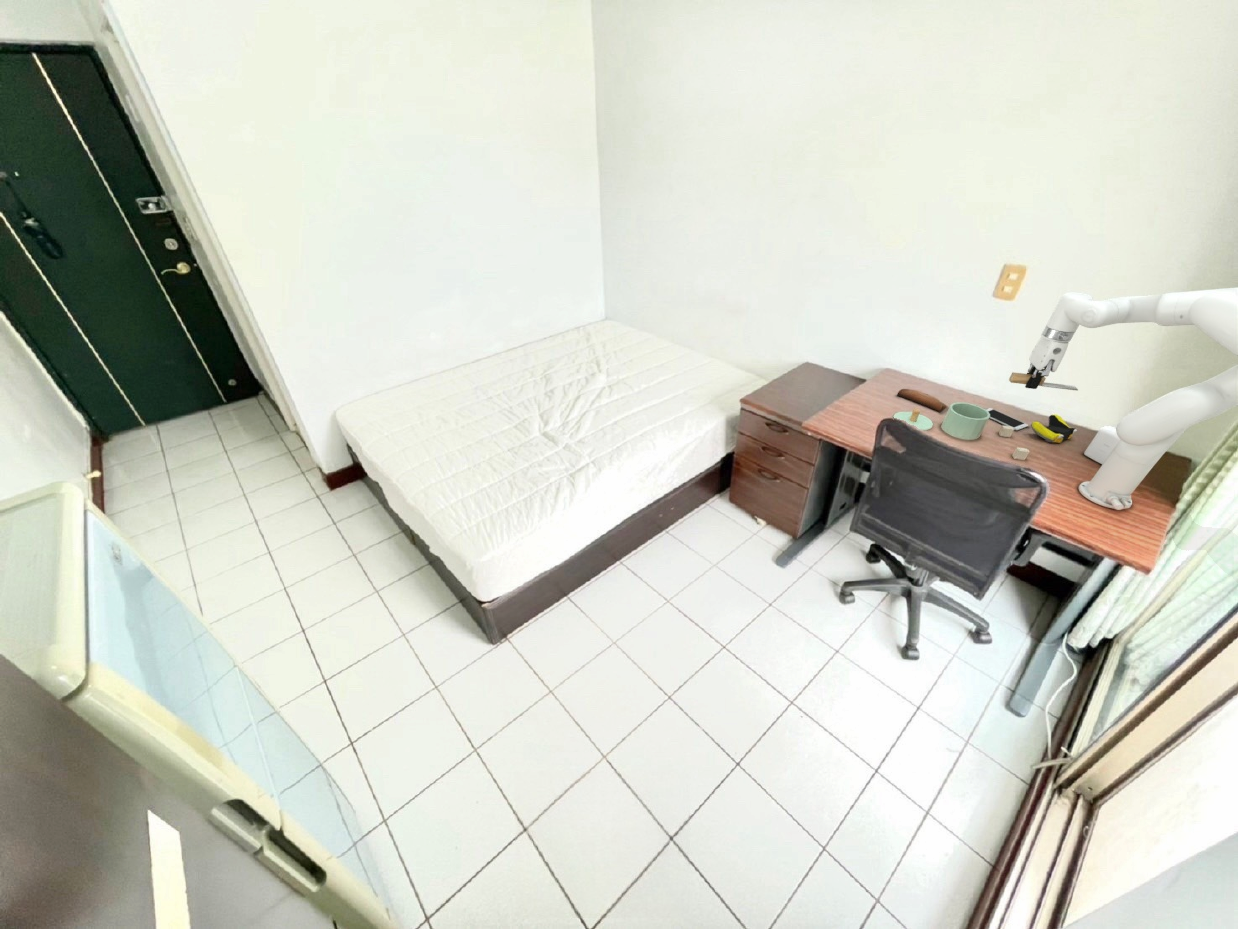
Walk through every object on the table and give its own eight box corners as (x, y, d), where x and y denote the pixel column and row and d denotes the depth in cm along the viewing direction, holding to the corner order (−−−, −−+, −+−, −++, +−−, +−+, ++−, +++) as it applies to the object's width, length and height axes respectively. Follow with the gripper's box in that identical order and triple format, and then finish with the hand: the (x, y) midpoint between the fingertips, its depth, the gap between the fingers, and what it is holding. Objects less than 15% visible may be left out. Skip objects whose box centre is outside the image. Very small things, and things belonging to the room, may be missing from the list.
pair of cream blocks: (1024, 460, 167) (1029, 451, 164) (1013, 458, 167) (1018, 450, 165) (1008, 434, 180) (1012, 426, 178) (998, 433, 180) (1002, 425, 178)
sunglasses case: (950, 406, 196) (951, 396, 191) (939, 418, 195) (940, 409, 190) (906, 390, 208) (907, 380, 203) (896, 401, 207) (896, 392, 202)
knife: (1077, 390, 158) (1082, 382, 157) (1010, 382, 163) (1014, 375, 162) (1074, 386, 161) (1078, 379, 159) (1008, 379, 165) (1012, 371, 164)
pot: (983, 443, 175) (994, 421, 170) (944, 437, 178) (954, 416, 173) (973, 425, 185) (984, 404, 180) (937, 421, 188) (946, 400, 183)
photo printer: (1080, 453, 169) (1100, 423, 162) (1089, 452, 170) (1110, 421, 163) (1110, 470, 161) (1133, 439, 154) (1120, 468, 162) (1144, 437, 155)
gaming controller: (1023, 434, 180) (1052, 447, 173) (1030, 421, 177) (1060, 434, 169) (1046, 424, 185) (1076, 437, 178) (1054, 412, 182) (1084, 424, 175)
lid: (935, 434, 180) (941, 421, 177) (895, 429, 183) (900, 416, 180) (927, 416, 191) (933, 404, 187) (890, 412, 194) (894, 399, 190)
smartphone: (990, 407, 194) (1029, 425, 183) (989, 408, 195) (1028, 426, 184) (978, 411, 192) (1017, 429, 181) (977, 413, 192) (1016, 431, 181)
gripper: (1083, 344, 145) (1050, 398, 156) (1061, 326, 158) (1033, 377, 169) (1053, 341, 147) (1024, 395, 158) (1034, 323, 159) (1008, 374, 170)
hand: (1029, 385), depth 163 cm, fingers closed on knife, 2 cm apart
